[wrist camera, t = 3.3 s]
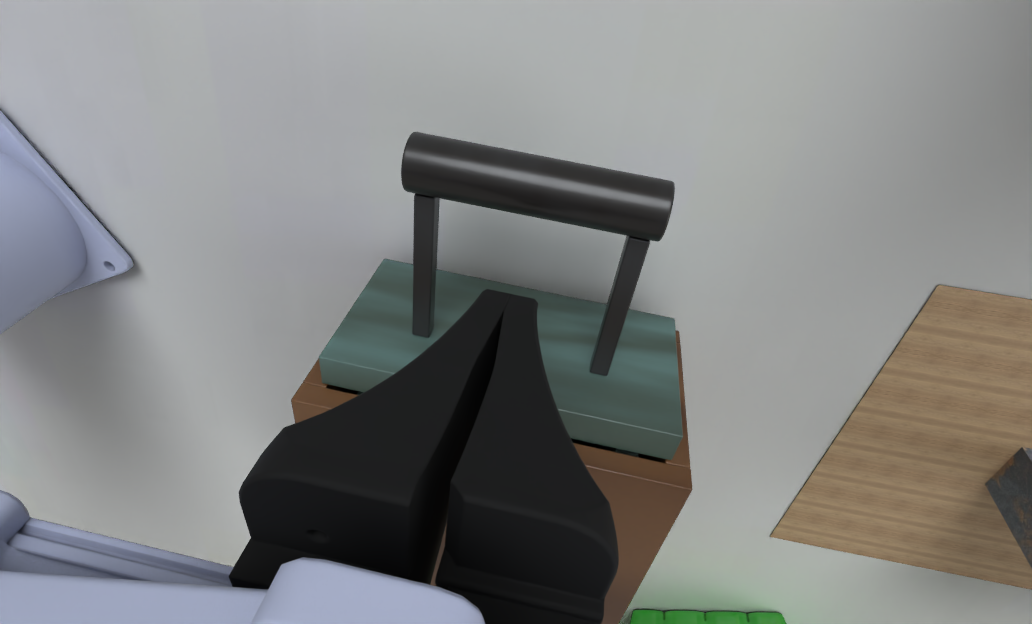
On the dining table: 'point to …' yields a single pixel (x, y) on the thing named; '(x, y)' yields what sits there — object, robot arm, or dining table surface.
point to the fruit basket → (704, 617)
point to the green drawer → (529, 293)
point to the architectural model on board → (1019, 510)
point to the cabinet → (622, 479)
